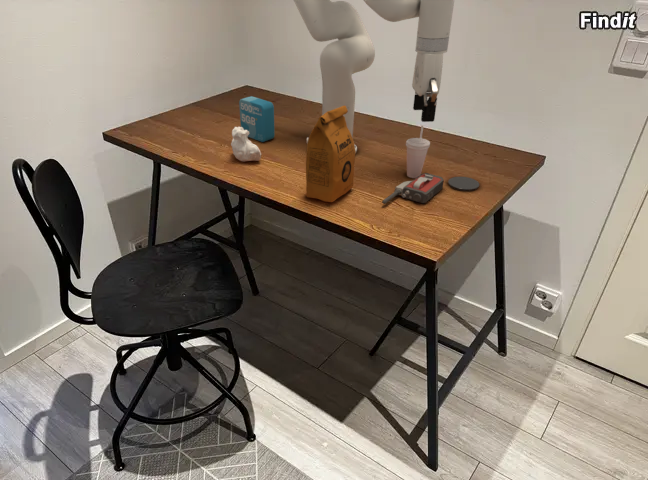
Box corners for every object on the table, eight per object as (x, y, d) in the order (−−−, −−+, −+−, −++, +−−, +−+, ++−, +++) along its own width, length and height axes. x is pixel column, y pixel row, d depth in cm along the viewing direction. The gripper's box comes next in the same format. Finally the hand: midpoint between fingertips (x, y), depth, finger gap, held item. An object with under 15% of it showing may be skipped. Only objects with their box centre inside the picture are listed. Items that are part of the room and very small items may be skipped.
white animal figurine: (233, 160, 160) (212, 138, 151) (247, 141, 161) (227, 118, 152) (257, 172, 153) (237, 149, 144) (272, 151, 153) (253, 128, 144)
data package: (240, 134, 173) (238, 98, 166) (251, 131, 176) (249, 95, 169) (264, 143, 166) (263, 105, 159) (275, 139, 168) (274, 102, 162)
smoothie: (425, 180, 141) (433, 130, 133) (401, 179, 142) (407, 129, 134) (425, 171, 146) (432, 122, 138) (402, 170, 147) (407, 121, 139)
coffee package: (359, 191, 136) (365, 107, 124) (331, 208, 129) (334, 120, 116) (329, 181, 142) (331, 100, 129) (300, 196, 134) (300, 112, 121)
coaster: (452, 191, 135) (452, 189, 135) (444, 178, 142) (444, 176, 141) (482, 191, 135) (483, 189, 135) (473, 178, 142) (474, 176, 141)
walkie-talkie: (415, 179, 142) (379, 206, 129) (417, 164, 139) (380, 190, 126) (445, 187, 137) (410, 216, 124) (448, 171, 135) (413, 199, 122)
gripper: (409, 38, 132) (402, 106, 141) (424, 52, 117) (415, 126, 127) (438, 37, 131) (430, 105, 141) (457, 51, 117) (446, 125, 127)
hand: (423, 115), depth 134 cm, fingers open, 9 cm apart
